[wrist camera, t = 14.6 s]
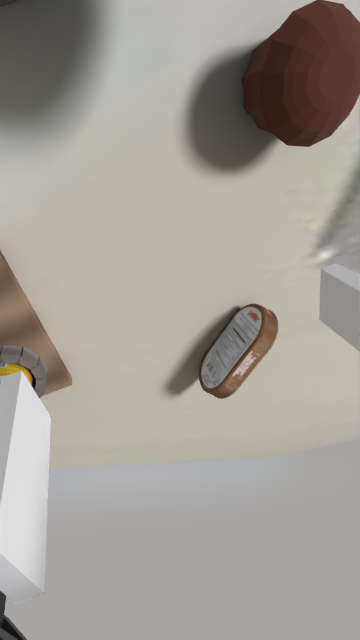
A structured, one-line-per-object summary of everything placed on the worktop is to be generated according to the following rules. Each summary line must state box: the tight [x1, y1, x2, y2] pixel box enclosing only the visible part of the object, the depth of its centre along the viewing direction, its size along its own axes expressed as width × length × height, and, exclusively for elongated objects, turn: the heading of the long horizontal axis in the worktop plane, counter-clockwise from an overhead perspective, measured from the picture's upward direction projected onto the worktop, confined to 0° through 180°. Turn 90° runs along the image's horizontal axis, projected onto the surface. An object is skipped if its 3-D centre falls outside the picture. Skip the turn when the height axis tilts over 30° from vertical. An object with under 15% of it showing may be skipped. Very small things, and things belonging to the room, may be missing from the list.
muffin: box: [242, 0, 360, 147], centre depth 34 cm, size 12×11×10 cm
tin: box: [199, 304, 278, 399], centre depth 49 cm, size 15×3×8 cm, turn 145°
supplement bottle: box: [0, 363, 33, 386], centre depth 40 cm, size 5×5×10 cm
